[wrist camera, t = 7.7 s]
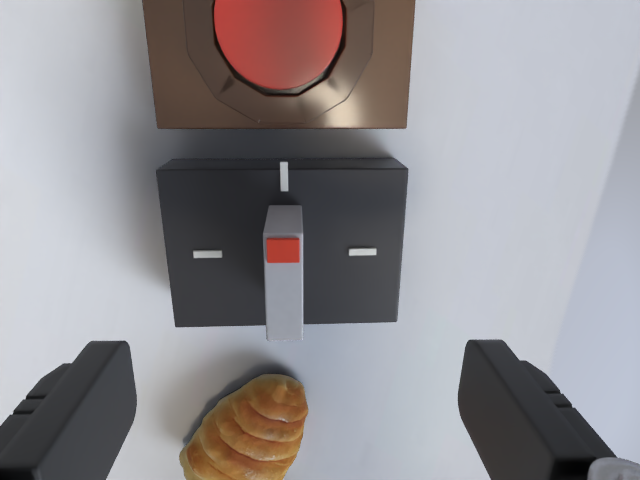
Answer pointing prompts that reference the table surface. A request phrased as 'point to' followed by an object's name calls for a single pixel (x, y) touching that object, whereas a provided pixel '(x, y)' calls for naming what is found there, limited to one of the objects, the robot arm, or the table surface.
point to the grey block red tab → (283, 272)
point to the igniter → (288, 104)
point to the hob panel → (318, 236)
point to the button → (279, 38)
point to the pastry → (249, 432)
